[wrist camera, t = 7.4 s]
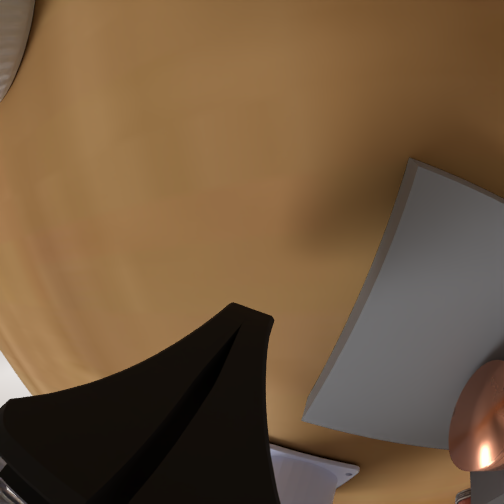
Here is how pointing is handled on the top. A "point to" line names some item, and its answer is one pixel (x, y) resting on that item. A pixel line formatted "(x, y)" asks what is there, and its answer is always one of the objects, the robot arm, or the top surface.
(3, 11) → the ramekin
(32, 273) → the top surface
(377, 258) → the housing
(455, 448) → the shaft
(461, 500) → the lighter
